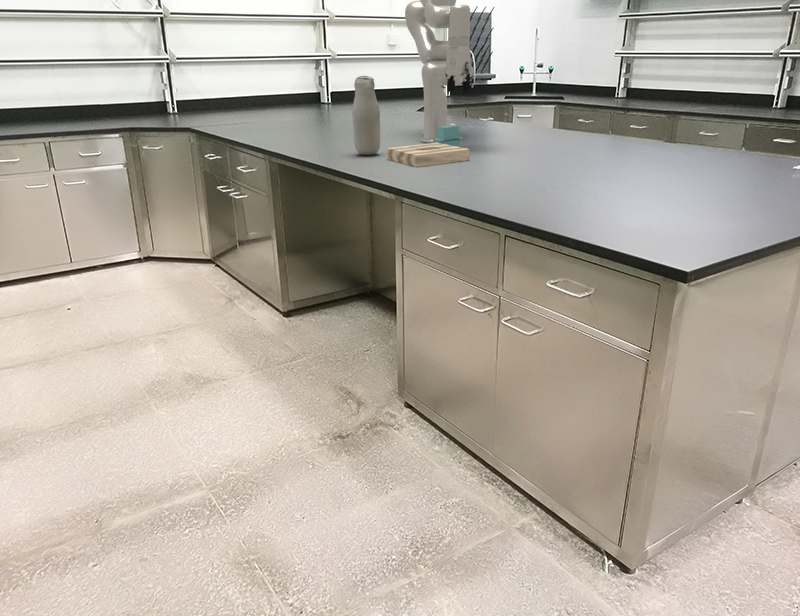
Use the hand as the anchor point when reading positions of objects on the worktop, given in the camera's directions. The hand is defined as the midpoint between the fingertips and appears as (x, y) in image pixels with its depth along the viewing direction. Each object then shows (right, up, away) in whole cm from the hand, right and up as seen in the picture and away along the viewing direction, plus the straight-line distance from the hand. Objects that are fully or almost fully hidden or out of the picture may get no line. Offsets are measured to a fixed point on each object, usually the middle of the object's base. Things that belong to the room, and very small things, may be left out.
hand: (458, 92), depth 235 cm
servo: (-3, -20, +7) cm, 22 cm away
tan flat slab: (-12, -28, -11) cm, 32 cm away
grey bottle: (-34, -23, +2) cm, 41 cm away
